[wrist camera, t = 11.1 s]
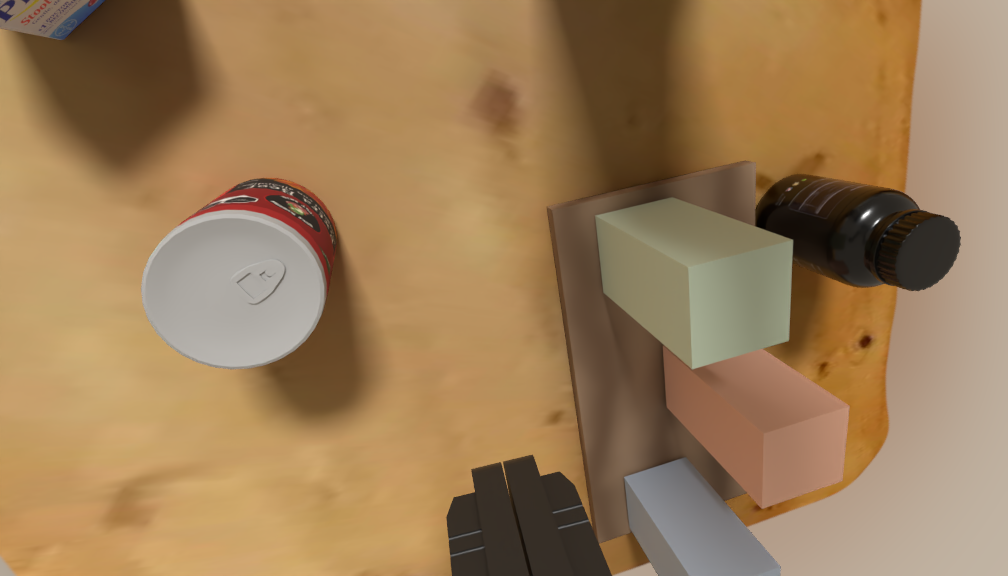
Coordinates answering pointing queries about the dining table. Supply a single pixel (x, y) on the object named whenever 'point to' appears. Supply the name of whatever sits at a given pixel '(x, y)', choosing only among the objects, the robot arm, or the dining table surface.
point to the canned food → (243, 275)
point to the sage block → (697, 278)
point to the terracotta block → (761, 423)
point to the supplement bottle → (859, 232)
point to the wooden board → (630, 347)
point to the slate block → (691, 526)
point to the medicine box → (45, 16)
